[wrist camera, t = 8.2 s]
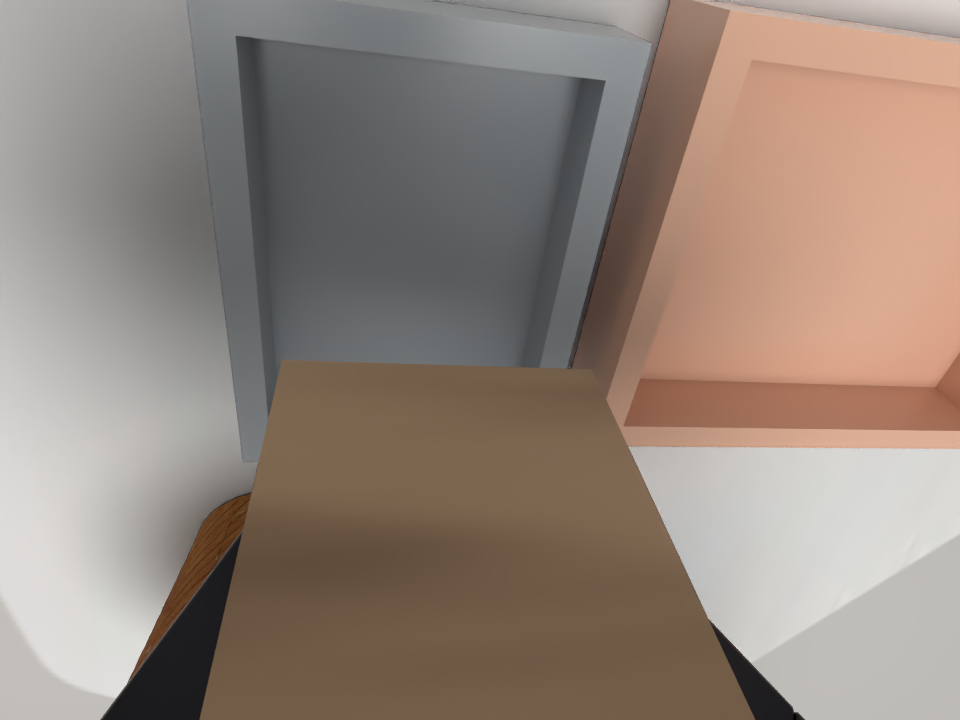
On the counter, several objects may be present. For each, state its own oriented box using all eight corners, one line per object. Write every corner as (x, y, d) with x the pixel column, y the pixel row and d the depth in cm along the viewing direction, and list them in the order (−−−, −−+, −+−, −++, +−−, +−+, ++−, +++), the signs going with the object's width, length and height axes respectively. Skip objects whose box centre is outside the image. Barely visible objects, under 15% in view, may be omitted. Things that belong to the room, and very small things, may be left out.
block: (537, 558, 12) (645, 1000, 7) (294, 564, 11) (227, 1068, 6) (591, 369, 9) (820, 859, 4) (282, 360, 8) (146, 948, 4)
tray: (527, 411, 21) (542, 462, 19) (257, 406, 20) (243, 462, 18) (614, 26, 15) (651, 43, 13) (214, -30, 13) (184, -20, 11)
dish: (930, 394, 24) (992, 449, 21) (567, 385, 21) (591, 445, 19) (1159, 68, 17) (1286, 93, 15) (672, -6, 14) (730, 10, 12)
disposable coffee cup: (244, 413, 20) (116, 879, 10) (456, 526, 25) (504, 920, 15) (101, 564, 23) (-99, 1025, 14) (312, 638, 28) (275, 1022, 18)
